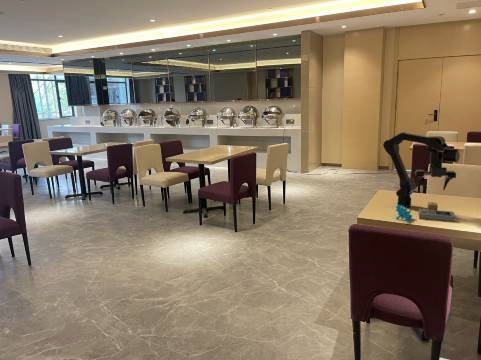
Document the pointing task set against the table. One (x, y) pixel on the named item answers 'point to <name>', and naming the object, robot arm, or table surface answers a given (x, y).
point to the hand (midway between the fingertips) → (433, 189)
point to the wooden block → (432, 206)
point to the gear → (403, 213)
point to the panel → (436, 215)
